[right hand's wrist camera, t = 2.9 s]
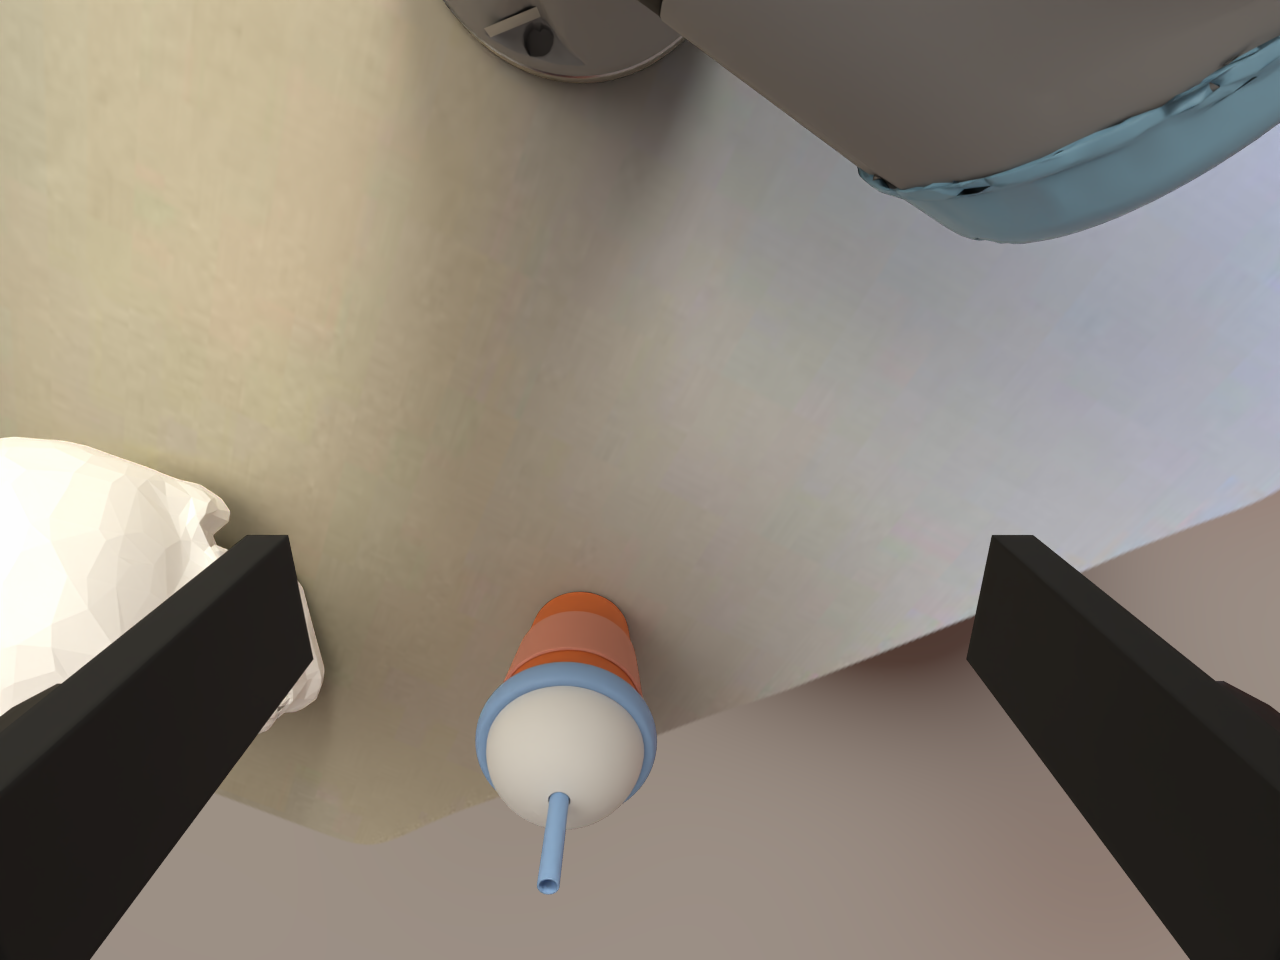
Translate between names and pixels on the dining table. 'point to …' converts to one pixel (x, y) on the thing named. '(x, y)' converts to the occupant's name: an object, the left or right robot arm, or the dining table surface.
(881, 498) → the dining table surface
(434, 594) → the dining table surface
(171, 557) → the skull
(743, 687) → the dining table surface
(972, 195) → the right robot arm
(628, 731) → the cup with straw
